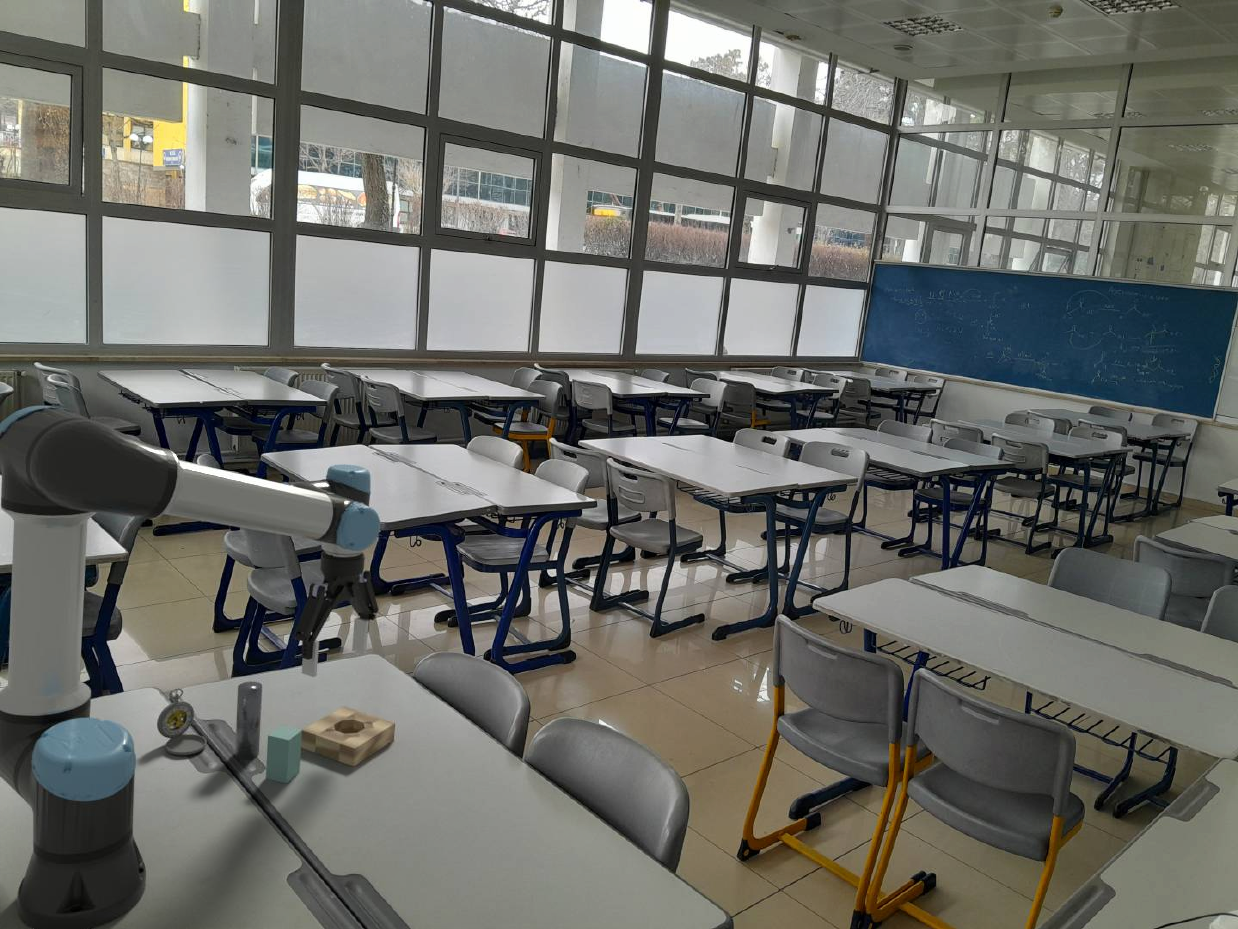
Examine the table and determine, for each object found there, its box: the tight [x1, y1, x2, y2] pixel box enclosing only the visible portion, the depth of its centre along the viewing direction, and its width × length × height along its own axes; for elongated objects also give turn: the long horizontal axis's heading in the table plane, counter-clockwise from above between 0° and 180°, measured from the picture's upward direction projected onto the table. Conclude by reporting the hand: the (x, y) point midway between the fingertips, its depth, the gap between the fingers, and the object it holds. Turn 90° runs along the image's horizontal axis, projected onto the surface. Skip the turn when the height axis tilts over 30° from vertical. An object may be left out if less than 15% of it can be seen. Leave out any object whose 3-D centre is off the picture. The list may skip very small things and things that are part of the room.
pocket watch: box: [156, 688, 207, 756], centre depth 165 cm, size 8×8×10 cm
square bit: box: [265, 724, 303, 784], centre depth 160 cm, size 4×4×8 cm
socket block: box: [301, 706, 396, 767], centre depth 173 cm, size 12×12×4 cm
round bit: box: [234, 681, 263, 760], centre depth 165 cm, size 4×4×13 cm
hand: (334, 663), depth 169 cm, fingers open, 13 cm apart
